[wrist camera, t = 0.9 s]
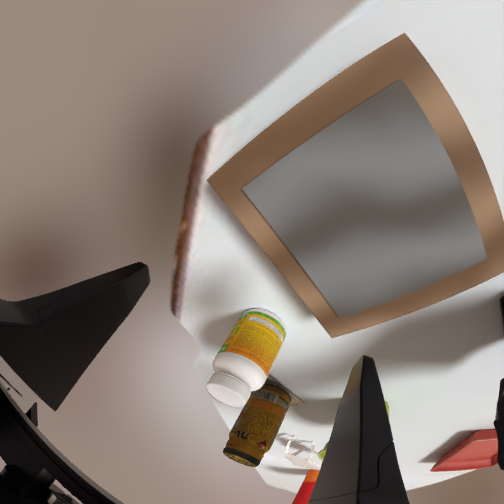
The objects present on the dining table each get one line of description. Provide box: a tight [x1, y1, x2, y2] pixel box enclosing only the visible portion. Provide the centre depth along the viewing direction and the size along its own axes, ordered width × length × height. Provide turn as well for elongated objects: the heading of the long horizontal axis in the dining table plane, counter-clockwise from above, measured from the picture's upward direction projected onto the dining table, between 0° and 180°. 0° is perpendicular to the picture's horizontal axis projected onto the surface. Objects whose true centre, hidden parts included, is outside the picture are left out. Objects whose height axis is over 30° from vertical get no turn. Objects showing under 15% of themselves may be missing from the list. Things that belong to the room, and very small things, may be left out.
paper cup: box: [292, 470, 320, 504], centre depth 52 cm, size 8×8×14 cm
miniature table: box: [284, 435, 321, 470], centre depth 44 cm, size 12×8×5 cm
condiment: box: [223, 375, 304, 467], centre depth 34 cm, size 7×8×12 cm
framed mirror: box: [207, 33, 504, 338], centre depth 17 cm, size 16×16×4 cm
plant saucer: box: [430, 429, 498, 472], centre depth 27 cm, size 18×18×3 cm
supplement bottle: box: [206, 309, 287, 407], centre depth 27 cm, size 5×5×10 cm
